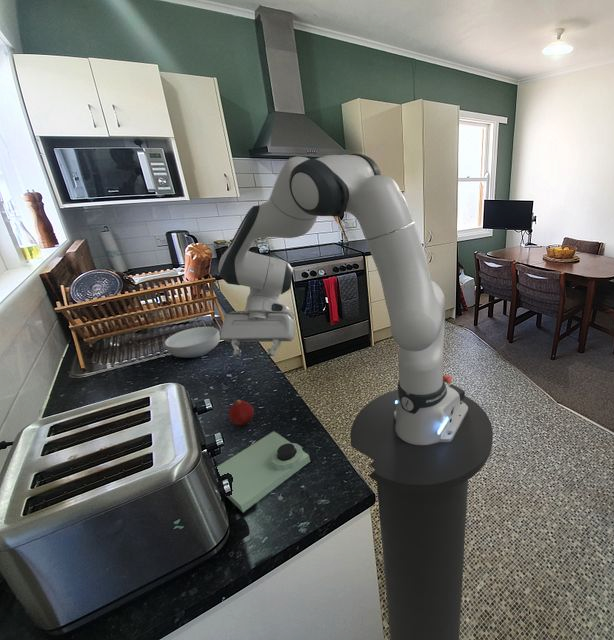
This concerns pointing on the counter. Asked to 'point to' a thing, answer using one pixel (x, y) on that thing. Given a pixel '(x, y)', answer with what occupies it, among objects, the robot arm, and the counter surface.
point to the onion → (241, 412)
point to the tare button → (286, 452)
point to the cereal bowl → (193, 342)
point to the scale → (260, 469)
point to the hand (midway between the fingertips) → (253, 355)
